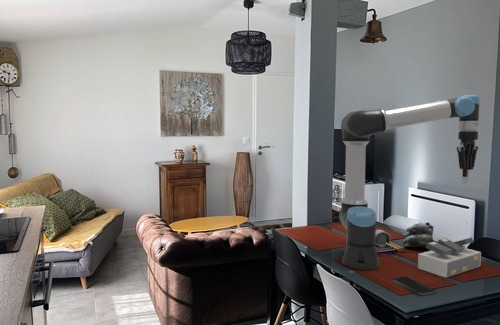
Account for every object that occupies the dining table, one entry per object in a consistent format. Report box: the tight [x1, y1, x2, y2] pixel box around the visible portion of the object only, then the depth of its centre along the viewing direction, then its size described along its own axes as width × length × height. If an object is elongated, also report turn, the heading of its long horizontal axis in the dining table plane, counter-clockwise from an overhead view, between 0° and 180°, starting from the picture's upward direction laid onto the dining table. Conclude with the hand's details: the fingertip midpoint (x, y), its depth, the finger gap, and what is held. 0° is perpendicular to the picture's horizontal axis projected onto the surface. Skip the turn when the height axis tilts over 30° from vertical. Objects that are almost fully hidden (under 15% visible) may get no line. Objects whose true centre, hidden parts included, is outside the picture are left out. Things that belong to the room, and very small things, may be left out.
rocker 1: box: [425, 241, 452, 256], centre depth 156 cm, size 8×5×2 cm, turn 31°
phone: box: [391, 275, 437, 297], centre depth 140 cm, size 8×1×15 cm
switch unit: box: [417, 245, 482, 278], centre depth 160 cm, size 24×12×8 cm, turn 121°
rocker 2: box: [437, 237, 463, 254], centre depth 159 cm, size 8×5×2 cm, turn 31°
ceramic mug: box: [375, 229, 392, 246], centre depth 191 cm, size 11×8×8 cm
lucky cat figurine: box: [402, 222, 435, 249], centre depth 188 cm, size 15×12×14 cm
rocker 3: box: [453, 237, 475, 246], centre depth 163 cm, size 8×5×2 cm, turn 31°
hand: (466, 184), depth 173 cm, fingers closed
